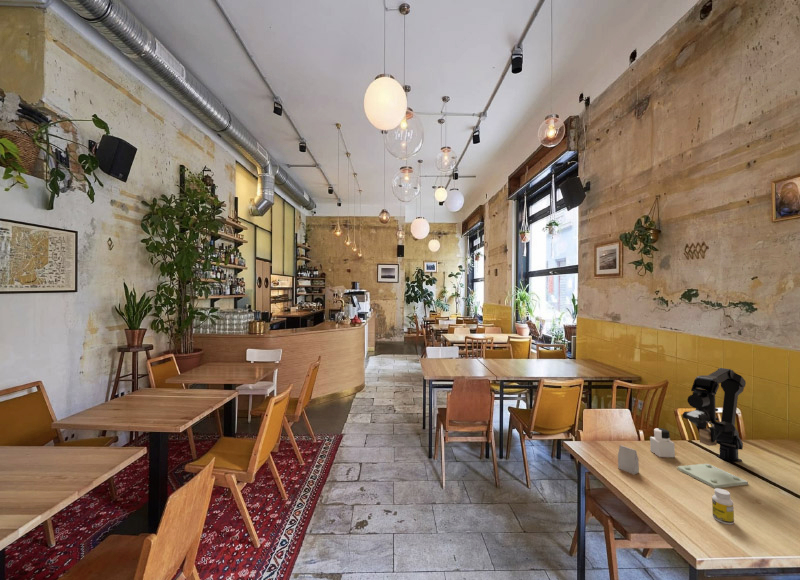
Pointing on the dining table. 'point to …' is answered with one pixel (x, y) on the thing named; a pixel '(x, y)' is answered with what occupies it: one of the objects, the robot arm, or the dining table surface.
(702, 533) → the dining table surface
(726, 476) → the baseplate
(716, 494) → the supplement bottle
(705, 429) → the brown rectangular block
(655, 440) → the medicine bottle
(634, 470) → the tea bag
